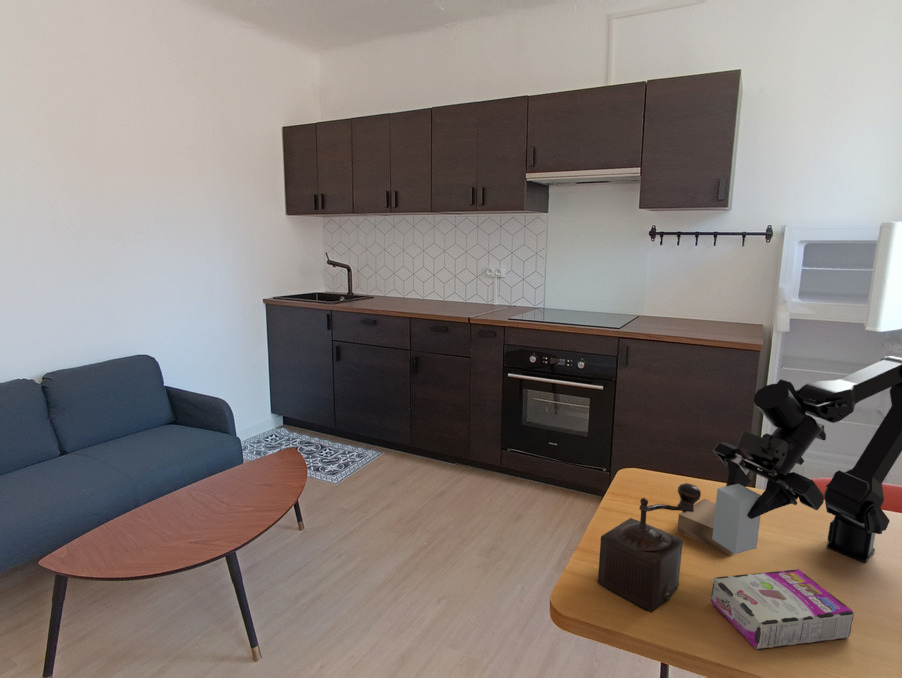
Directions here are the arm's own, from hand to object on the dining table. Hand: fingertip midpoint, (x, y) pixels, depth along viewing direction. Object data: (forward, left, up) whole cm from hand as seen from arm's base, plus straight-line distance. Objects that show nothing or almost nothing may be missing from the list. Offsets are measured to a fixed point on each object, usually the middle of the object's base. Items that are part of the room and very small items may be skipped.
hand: (736, 509), depth 96 cm
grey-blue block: (0, 0, -7) cm, 7 cm away
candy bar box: (-14, -2, -11) cm, 18 cm away
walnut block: (+8, -13, -13) cm, 20 cm away
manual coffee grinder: (+9, +12, -14) cm, 20 cm away
